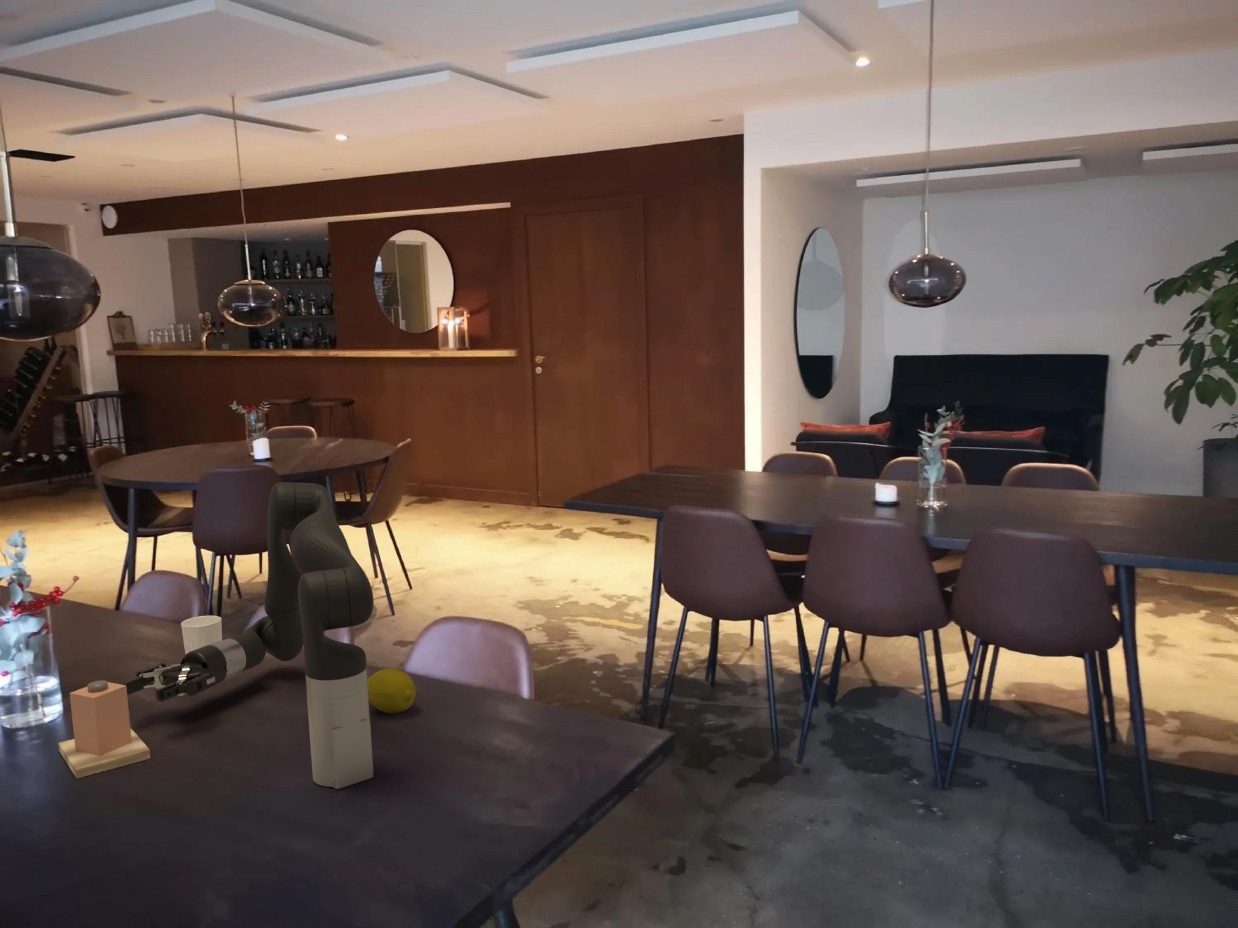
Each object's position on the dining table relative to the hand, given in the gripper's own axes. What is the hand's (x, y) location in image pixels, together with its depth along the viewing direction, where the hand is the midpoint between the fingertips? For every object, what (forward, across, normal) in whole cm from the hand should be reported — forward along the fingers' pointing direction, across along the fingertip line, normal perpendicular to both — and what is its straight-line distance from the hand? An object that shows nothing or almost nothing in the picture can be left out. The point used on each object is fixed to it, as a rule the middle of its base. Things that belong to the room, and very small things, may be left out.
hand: (140, 692), depth 170 cm
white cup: (-31, -20, +8) cm, 38 cm away
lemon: (-26, +34, +8) cm, 43 cm away
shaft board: (+8, 0, +8) cm, 11 cm away
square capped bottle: (+8, 0, +6) cm, 10 cm away
